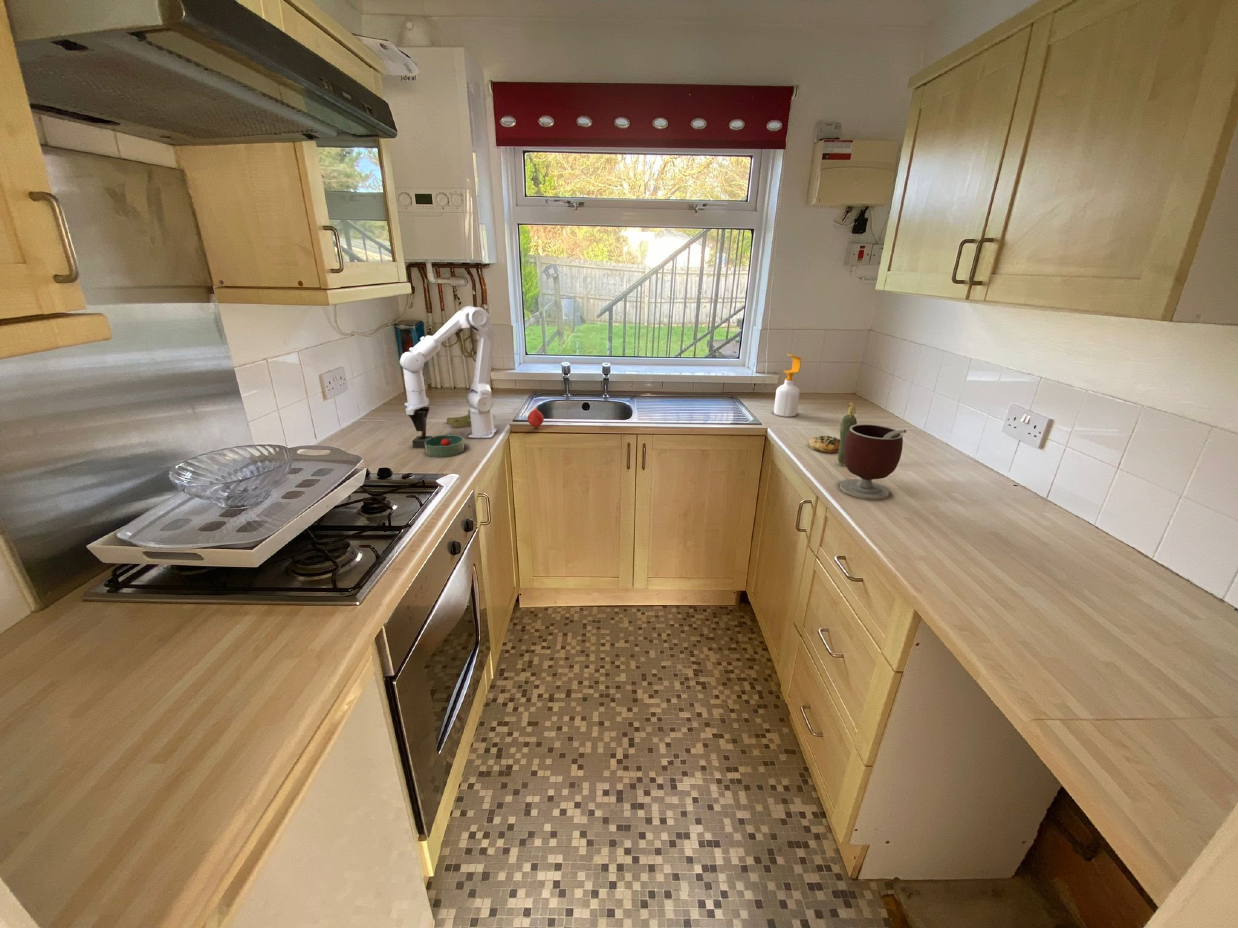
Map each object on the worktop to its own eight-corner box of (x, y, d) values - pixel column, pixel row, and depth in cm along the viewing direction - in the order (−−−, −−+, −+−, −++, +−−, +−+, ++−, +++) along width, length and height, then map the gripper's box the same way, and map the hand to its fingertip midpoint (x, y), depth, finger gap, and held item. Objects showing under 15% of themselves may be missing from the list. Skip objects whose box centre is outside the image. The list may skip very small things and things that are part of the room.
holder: (418, 442, 174) (417, 435, 173) (433, 443, 174) (432, 436, 173) (413, 447, 169) (412, 440, 168) (428, 447, 169) (427, 440, 168)
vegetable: (850, 468, 155) (862, 405, 148) (835, 467, 156) (846, 404, 148) (846, 463, 159) (858, 401, 152) (832, 462, 160) (843, 400, 152)
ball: (443, 446, 169) (442, 437, 168) (452, 446, 169) (451, 437, 168) (440, 449, 166) (439, 440, 165) (449, 449, 166) (448, 440, 165)
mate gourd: (825, 483, 144) (837, 416, 137) (863, 477, 149) (877, 411, 141) (868, 506, 131) (884, 432, 123) (908, 498, 135) (926, 427, 128)
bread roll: (846, 445, 174) (847, 432, 171) (838, 459, 166) (839, 445, 163) (812, 441, 180) (813, 428, 177) (803, 453, 172) (804, 440, 169)
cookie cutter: (474, 413, 208) (473, 408, 207) (497, 417, 203) (497, 412, 203) (442, 424, 193) (441, 419, 192) (466, 429, 188) (466, 424, 188)
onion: (525, 429, 189) (523, 408, 186) (534, 425, 194) (533, 404, 191) (537, 431, 186) (536, 410, 183) (547, 427, 191) (546, 406, 188)
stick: (421, 444, 172) (422, 416, 168) (426, 445, 172) (427, 417, 168) (420, 445, 171) (421, 417, 167) (424, 446, 171) (425, 418, 167)
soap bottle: (768, 412, 213) (776, 353, 204) (785, 410, 217) (793, 352, 208) (783, 418, 206) (792, 357, 197) (801, 415, 209) (809, 355, 200)
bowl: (433, 444, 172) (431, 434, 171) (468, 444, 172) (467, 435, 171) (420, 457, 161) (418, 446, 160) (458, 457, 161) (456, 446, 160)
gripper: (411, 384, 171) (417, 423, 176) (393, 395, 158) (400, 436, 163) (432, 385, 171) (437, 423, 176) (416, 395, 158) (422, 437, 163)
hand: (421, 430), depth 169 cm, fingers closed on stick, 1 cm apart
